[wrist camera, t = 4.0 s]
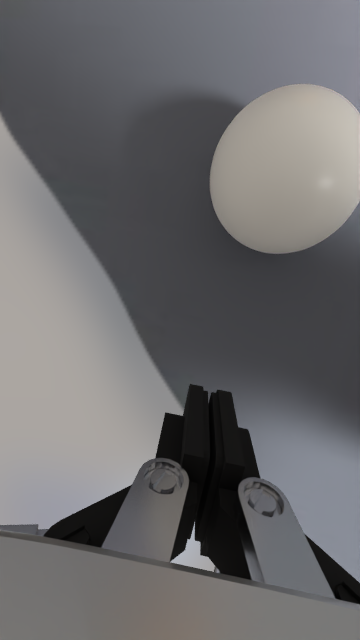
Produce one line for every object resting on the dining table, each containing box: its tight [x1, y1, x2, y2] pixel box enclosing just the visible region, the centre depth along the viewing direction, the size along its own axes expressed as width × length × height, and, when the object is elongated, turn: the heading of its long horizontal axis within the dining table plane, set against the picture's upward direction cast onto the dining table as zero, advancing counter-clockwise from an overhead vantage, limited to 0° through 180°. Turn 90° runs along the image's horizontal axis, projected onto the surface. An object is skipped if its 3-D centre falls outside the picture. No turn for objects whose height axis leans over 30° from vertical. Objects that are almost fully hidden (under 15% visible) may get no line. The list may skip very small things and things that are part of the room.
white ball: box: [210, 84, 360, 254], centre depth 11 cm, size 6×6×6 cm
